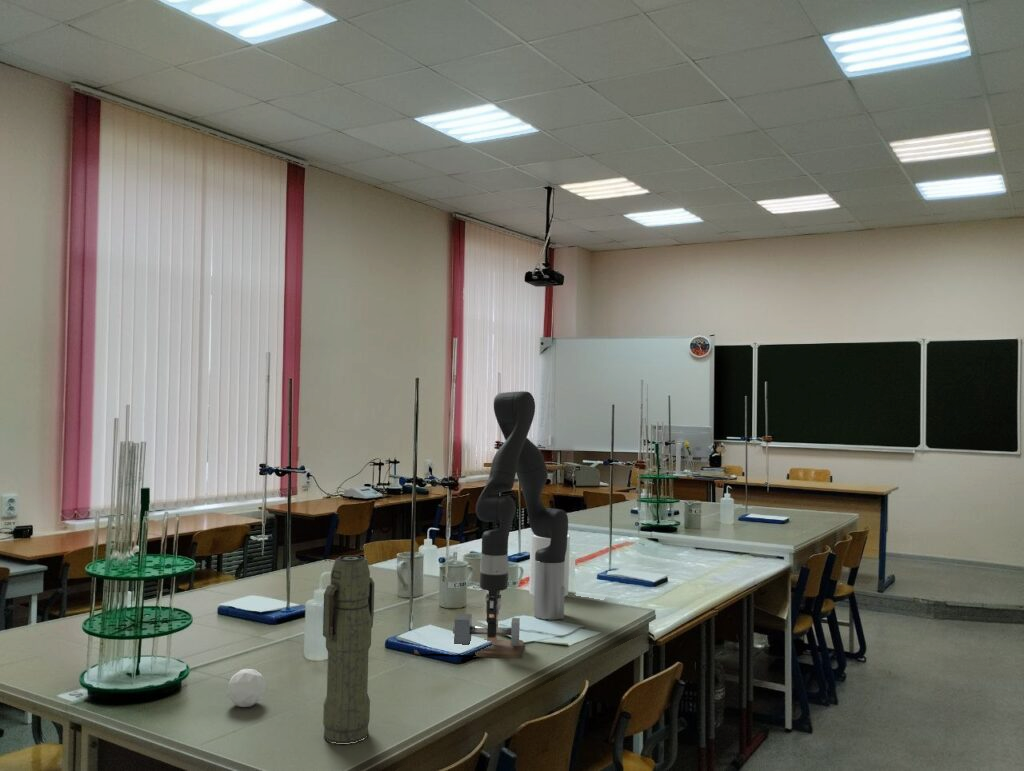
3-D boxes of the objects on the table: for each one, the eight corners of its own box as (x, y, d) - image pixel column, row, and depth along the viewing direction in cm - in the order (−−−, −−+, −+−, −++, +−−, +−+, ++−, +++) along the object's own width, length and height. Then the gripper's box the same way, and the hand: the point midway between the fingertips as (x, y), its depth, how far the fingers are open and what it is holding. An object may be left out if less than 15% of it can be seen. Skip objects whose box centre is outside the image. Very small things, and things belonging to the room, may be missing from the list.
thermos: (307, 741, 155) (312, 559, 156) (348, 720, 166) (353, 550, 166) (342, 752, 151) (347, 565, 152) (382, 730, 161) (387, 555, 162)
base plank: (523, 644, 220) (523, 640, 220) (521, 658, 208) (521, 654, 208) (421, 640, 221) (421, 636, 221) (414, 654, 209) (414, 650, 209)
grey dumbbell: (519, 640, 216) (519, 618, 216) (518, 646, 211) (519, 623, 211) (454, 637, 217) (454, 615, 217) (451, 643, 212) (452, 620, 212)
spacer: (497, 634, 217) (498, 612, 217) (496, 640, 211) (496, 617, 211) (488, 634, 217) (489, 611, 217) (487, 640, 211) (487, 617, 211)
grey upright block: (471, 641, 217) (471, 614, 218) (469, 648, 211) (469, 620, 212) (456, 641, 218) (457, 613, 218) (453, 648, 212) (454, 619, 212)
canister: (543, 586, 288) (544, 530, 288) (575, 592, 280) (576, 534, 280) (521, 593, 277) (523, 535, 277) (554, 599, 269) (556, 539, 269)
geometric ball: (255, 718, 172) (273, 692, 170) (220, 711, 168) (237, 685, 166) (254, 689, 179) (271, 665, 177) (220, 682, 175) (237, 657, 173)
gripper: (506, 576, 207) (505, 642, 207) (509, 565, 221) (507, 626, 221) (477, 575, 207) (476, 641, 207) (482, 564, 222) (480, 625, 222)
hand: (492, 633), depth 214 cm, fingers closed on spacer, 6 cm apart
